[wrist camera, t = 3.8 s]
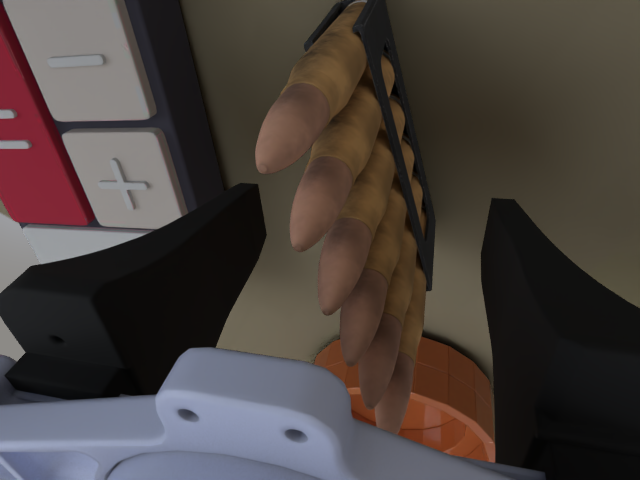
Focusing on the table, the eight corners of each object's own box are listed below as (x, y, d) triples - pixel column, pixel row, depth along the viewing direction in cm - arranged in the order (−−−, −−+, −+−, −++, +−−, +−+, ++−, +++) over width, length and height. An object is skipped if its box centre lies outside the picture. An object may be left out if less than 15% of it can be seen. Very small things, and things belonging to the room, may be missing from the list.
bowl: (508, 339, 25) (518, 409, 22) (477, 448, 32) (481, 514, 29) (306, 313, 28) (285, 372, 24) (318, 419, 35) (304, 476, 32)
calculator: (112, -37, 14) (216, 309, 22) (177, -42, 18) (247, 260, 26) (-132, -7, 17) (41, 292, 25) (-34, -17, 20) (90, 249, 29)
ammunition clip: (436, 223, 22) (426, 465, 12) (399, 229, 22) (363, 462, 13) (381, -13, 16) (289, 105, 7) (334, 3, 17) (193, 131, 8)
